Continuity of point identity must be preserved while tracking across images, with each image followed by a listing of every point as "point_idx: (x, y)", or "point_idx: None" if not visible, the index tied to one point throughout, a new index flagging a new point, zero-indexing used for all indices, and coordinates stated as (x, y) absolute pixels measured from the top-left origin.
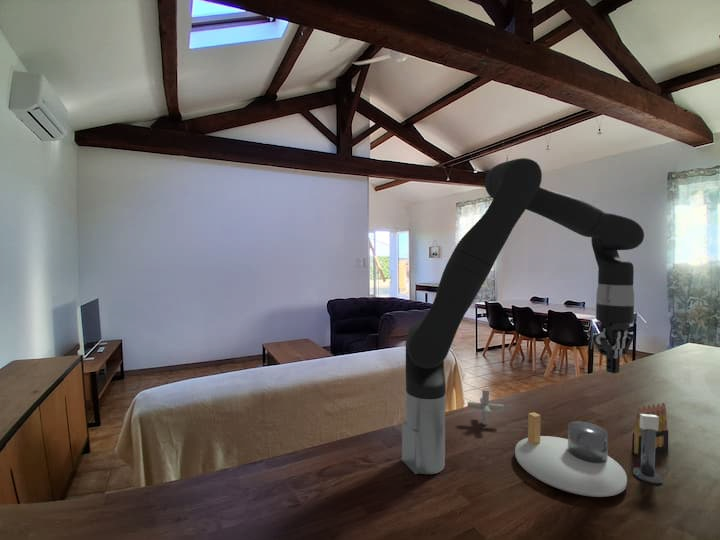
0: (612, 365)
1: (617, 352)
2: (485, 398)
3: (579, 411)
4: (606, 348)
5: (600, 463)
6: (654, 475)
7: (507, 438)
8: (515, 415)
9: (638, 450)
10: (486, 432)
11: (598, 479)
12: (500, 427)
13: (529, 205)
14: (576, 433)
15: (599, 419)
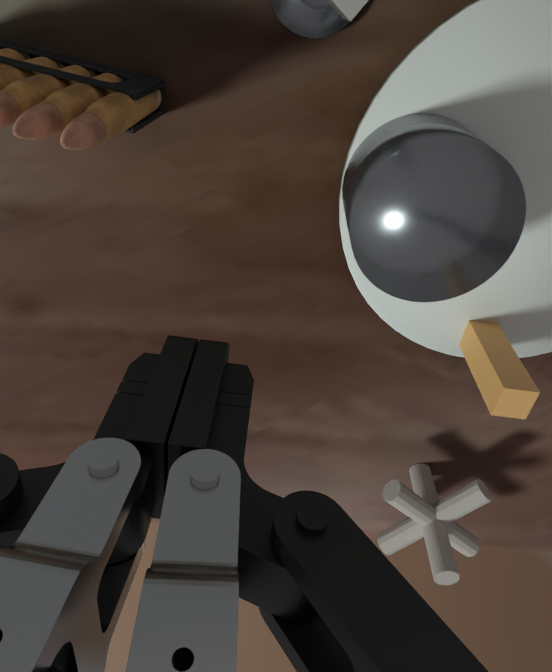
0: (245, 408)
1: (166, 519)
2: (450, 546)
3: (26, 374)
4: (463, 649)
5: (455, 119)
6: None
7: (460, 393)
8: (279, 456)
9: (158, 89)
10: (475, 440)
11: None
12: (405, 437)
13: None
14: (516, 237)
15: (10, 310)
